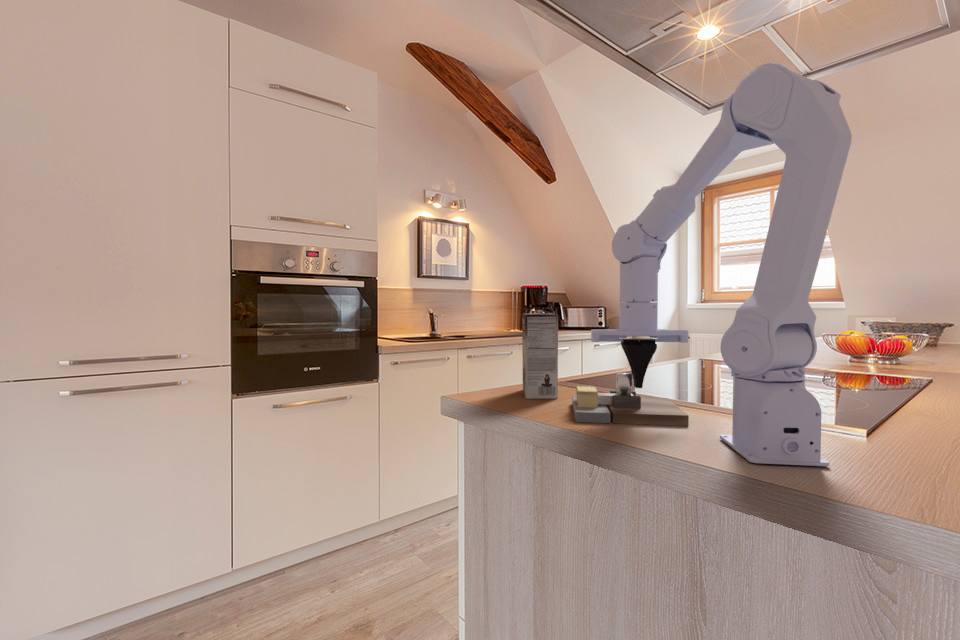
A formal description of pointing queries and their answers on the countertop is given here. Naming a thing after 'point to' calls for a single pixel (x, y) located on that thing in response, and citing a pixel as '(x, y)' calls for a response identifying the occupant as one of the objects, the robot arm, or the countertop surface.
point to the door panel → (645, 411)
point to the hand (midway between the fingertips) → (637, 387)
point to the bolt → (621, 389)
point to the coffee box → (540, 355)
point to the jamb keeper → (589, 406)
